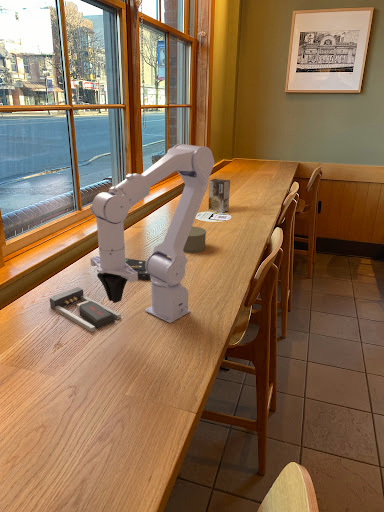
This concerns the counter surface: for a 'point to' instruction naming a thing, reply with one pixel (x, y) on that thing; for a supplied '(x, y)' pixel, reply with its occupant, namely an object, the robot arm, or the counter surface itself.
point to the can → (195, 240)
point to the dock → (72, 297)
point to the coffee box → (219, 195)
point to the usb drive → (95, 314)
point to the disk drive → (138, 268)
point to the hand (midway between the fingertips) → (115, 300)
